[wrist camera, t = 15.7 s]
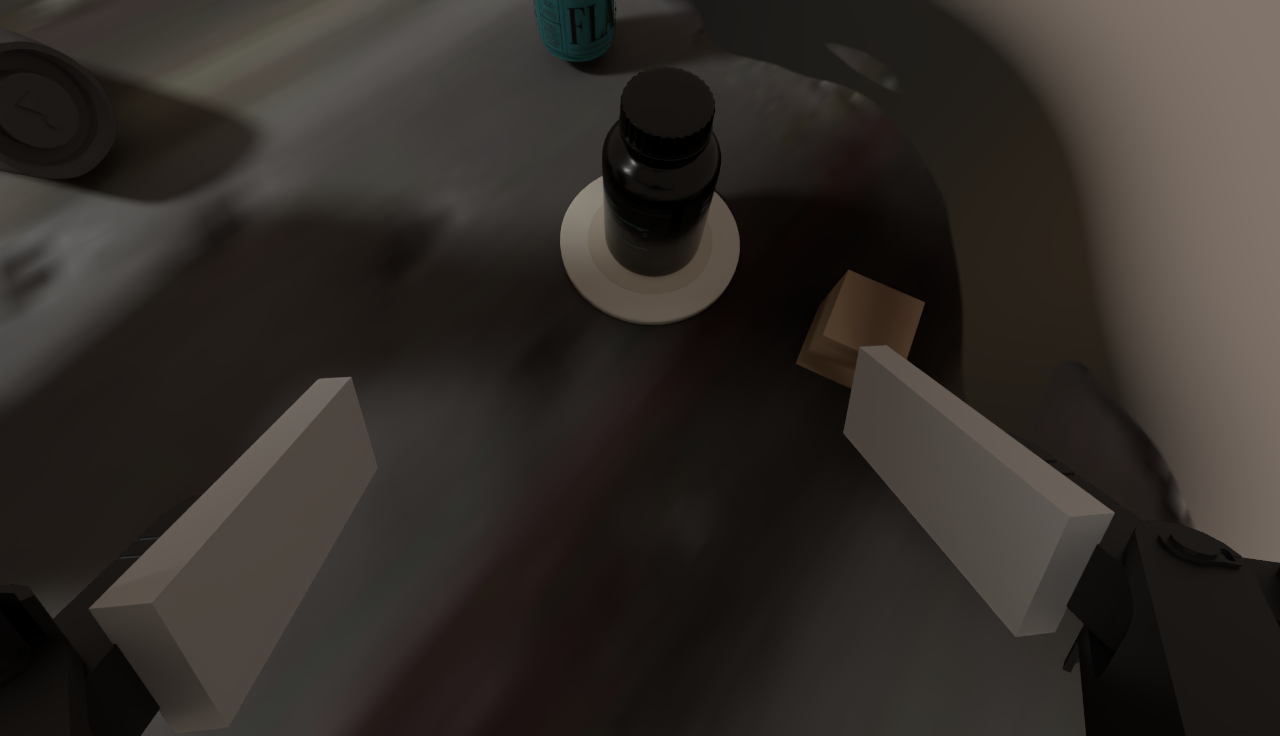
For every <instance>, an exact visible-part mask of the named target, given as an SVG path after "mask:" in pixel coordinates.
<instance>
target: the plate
mask: <svg viewBox="0 0 1280 736" xmlns="http://www.w3.org/2000/svg"><path fill="white" fill-rule="evenodd" d="M560 247H561V254H562V260H563V264H564V267H565V270H566V273H567V275H568V277H569V279H570V281H571V282H572V284H573V285H574V287H575V288H576V290H577V291H578V292H579V293H580V294H581V296H582V297H583V298H584V299H585V300H587V301H588V302H589V303H590V304H591V305H592V306H594V307H595V308H597V309H598V310H600V311H601V312H603V313H605V314H607V315H609V316H611V317H613V318H616V319H619V320H622V321H625V322H629V323H634V324H641V325H664V324H670V323H675V322H679V321H682V320H686V319H688V318H690V317H693V316H695V315H697V314H699V313H700V312H702V311H704V310H705V309H707V308H708V307H709V306H711V305H712V304H713V303H714V302H715V301H716V300H717V299H718V298H719V297H720V296H721V295H722V294H723V292H724V291H725V289H726V288H727V287H728V285H729V283H730V281H731V279H732V277H733V274H734V272H735V269H736V266H737V263H738V259H739V253H740V240H739V232H738V229H737V225H736V222H735V220H734V217H733V215H732V213H731V211H730V210H729V208H728V207H727V205H726V204H725V202H724V201H723V200H722V199H721V197H720V196H719V195H718V194H717V193H716V192H715V191H714V195H713V198H712V202H711V206H710V209H709V213H708V217H707V220H706V224H705V228H704V231H703V235H702V239H701V242H700V245H699V248H698V251H697V253H696V255H695V256H694V258H693V259H692V260H691V261H690V263H689V264H687V265H686V266H685V267H684V268H683V269H681V270H679V271H677V272H675V273H673V274H670V275H666V276H661V277H647V276H642V275H638V274H635V273H633V272H631V271H629V270H627V269H625V268H624V267H622V266H621V265H620V264H619V263H618V262H617V261H616V260H615V259H614V258H613V256H612V255H611V253H610V251H609V249H608V247H607V243H606V239H605V228H604V201H603V176H602V177H600V178H598V179H597V180H595V181H593V182H592V183H590V184H589V185H588V186H587V187H585V188H584V189H583V190H582V191H581V192H580V193H579V194H578V195H577V196H576V198H575V199H574V200H573V202H572V203H571V205H570V206H569V208H568V210H567V212H566V214H565V217H564V220H563V223H562V227H561V233H560Z"/></svg>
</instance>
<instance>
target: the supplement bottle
mask: <svg viewBox="0 0 1280 736" xmlns="http://www.w3.org/2000/svg"><path fill="white" fill-rule="evenodd" d="M714 105H715V100H714V98H713V93H712V92H711V91H710V88H709V86H707V85H706V84H705V82H704V81H703V80H701V79H700V78H699V77H698V76H696V75H693V74H692V73H691V72H689V71H685V70H683V69H677V68H674V67H660V68H658V67H655V68H652V69H646V70H645V71H644V72H639V73H638V75H636V76H634V77H632V80H631V81H629V82H627V86H626V87H625V88H624V89H623V94H622V95H621V105H620V116H619V120H618V121H617V122H616V123H615V124H614V125H613V126H612V128H611V129H610V131H609V132H608V134H607V136H606V139H605V141H604V145H603V151H602V172H603V201H604V228H605V239H606V243H607V247H608V249H609V251H610V253H611V255H612V256H613V258H614V259H615V260H616V261H617V262H618V263H619V264H620V265H621V266H622V267H624V268H625V269H627V270H629V271H631V272H633V273H635V274H638V275H642V276H647V277H661V276H666V275H670V274H673V273H675V272H677V271H679V270H681V269H683V268H684V267H685V266H686V265H687V264H689V263H690V261H691V260H692V259H693V258H694V256H695V255H696V253H697V251H698V248H699V245H700V242H701V239H702V235H703V231H704V228H705V224H706V220H707V217H708V213H709V209H710V206H711V202H712V198H713V195H714V191H715V187H716V184H717V180H718V176H719V172H720V167H721V151H720V146H719V143H718V140H717V138H716V136H715V134H714V132H713V131H712V129H713V123H712V122H713V118H714V113H715V106H714Z"/></svg>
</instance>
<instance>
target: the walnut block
mask: <svg viewBox="0 0 1280 736" xmlns="http://www.w3.org/2000/svg"><path fill="white" fill-rule="evenodd" d="M924 304H925V302H923V301H921V300H918V299H916V298H914V297H911V296H909V295H907V294H904V293H902V292H900V291H897V290H895V289H893V288H890V287H888V286H886V285H883V284H881V283H878V282H876V281H874V280H871V279H869V278H867V277H864V276H862V275H860V274H857V273H855V272H853V271H850V270H848V271H847V272H846V273H845V275H844V276H843V277H842V278H841V279H840V281H839V282H838V283H837V284H836V286H835V287H834V288H833V289H832V290H831V292H830V293H829V294H828V295H827V297H826V298H825V299H824V300H823V301H822V303H821V304H820V305H819V307H818V310H817V312H816V315H815V317H814V320H813V322H812V325H811V327H810V330H809V332H808V335H807V337H806V339H805V342H804V344H803V347H802V349H801V352H800V354H799V357H798V359H797V362H796V364H798V365H800V366H802V367H804V368H806V369H809V370H811V371H813V372H815V373H817V374H820V375H822V376H824V377H826V378H828V379H831V380H833V381H835V382H837V383H839V384H842V385H844V386H846V387H848V388H851V389H852V384H853V379H854V374H855V368H856V363H857V358H858V352H859V347H865V346H882V345H887V346H888V347H890V348H891V349H892V350H894V351H895V352H896V353H898V354H899V355H900V356H902V357H903V358H905V359H906V360H907V357H908V354H909V351H910V348H911V344H912V341H913V338H914V335H915V332H916V329H917V326H918V323H919V320H920V317H921V313H922V310H923V307H924Z"/></svg>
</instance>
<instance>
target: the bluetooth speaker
mask: <svg viewBox="0 0 1280 736" xmlns="http://www.w3.org/2000/svg"><path fill="white" fill-rule="evenodd" d="M116 133H117V120H116V115H115V111H114V108H113V105H112V103H111V101H110V98H109V96H108V94H107V93H106V91H105V89H104V88H103V86H102V85H101V84H100V82H99V81H98V80H97V79H96V78H95V77H94V76H93V75H92V74H91V73H90V72H89V71H88V70H87V69H86V68H84V67H83V66H82V65H81V64H79V63H78V62H76V61H75V60H73V59H72V58H70V57H68V56H67V55H65V54H63V53H61V52H59V51H56V50H55V49H53V48H51V47H49V46H46V45H44V44H42V43H40V42H38V41H35V40H33V39H30V38H28V37H25V36H23V35H20V34H18V33H15V32H13V31H10V30H7V29H4V28H1V27H0V170H1V171H6V172H11V173H16V174H22V175H28V176H34V177H41V178H49V179H67V178H73V177H78V176H81V175H83V174H86V173H88V172H89V171H91V170H92V169H94V168H95V167H96V166H97V165H98V164H99V163H100V162H101V161H102V160H103V159H104V157H105V156H106V155H107V154H108V152H109V150H110V149H111V147H112V146H113V144H114V142H115V138H116Z"/></svg>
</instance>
